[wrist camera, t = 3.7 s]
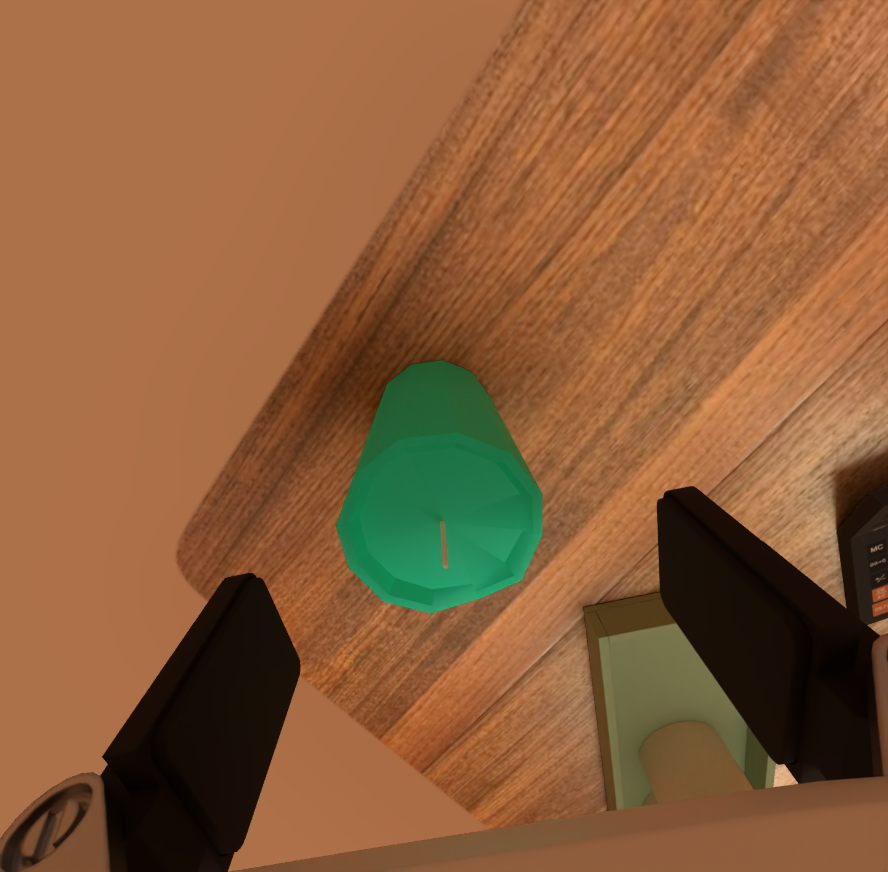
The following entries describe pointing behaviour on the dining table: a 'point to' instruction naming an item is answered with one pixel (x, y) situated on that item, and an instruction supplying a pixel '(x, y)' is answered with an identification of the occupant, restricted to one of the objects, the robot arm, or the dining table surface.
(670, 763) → the cream candle
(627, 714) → the tray
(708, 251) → the dining table surface
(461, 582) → the candle
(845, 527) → the calculator
